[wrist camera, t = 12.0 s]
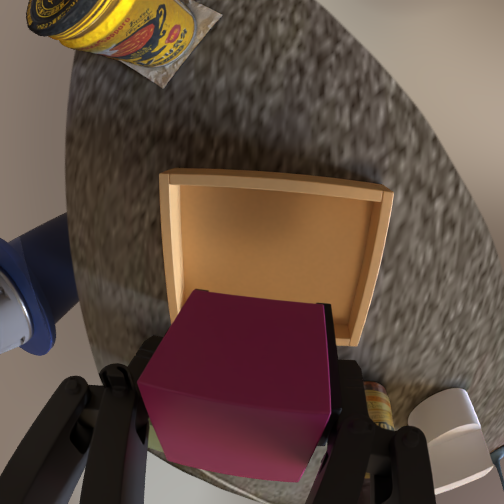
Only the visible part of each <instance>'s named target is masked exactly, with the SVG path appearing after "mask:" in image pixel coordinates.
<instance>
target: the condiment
mask: <svg viewBox="0 0 504 504" xmlns="http://www.w3.org/2000/svg"><path fill="white" fill-rule="evenodd" d="M221 16H222V15H221V14H220V13H218V12H216V11H214V10H212V9H210V8H208V7H206V6H204V5H202V4H200V3H197V2H195V1H193V0H29V3H28V7H27V13H26V19H27V24H28V28H29V29H30V30H31V31H33V32H34V33H35V34H38V35H39V36H49V37H50V38H52V39H55V40H59V41H60V43H61V44H62V45H64V46H66V47H68V48H71V49H74V50H75V49H76V50H80V51H86V52H91V53H95V54H98V55H102V56H105V57H108V58H113V59H117V60H119V61H121V62H122V63H124V64H126V65H127V66H129V67H131V68H132V69H134V70H135V71H137V72H139V73H140V74H142V75H143V76H145V77H146V78H148V79H149V80H151V81H153V82H154V83H156V84H157V85H159V86H160V87H161V88H163V89H164V87H165V86H166V85H167V83H168V82H169V80H170V79H171V78H172V76H173V75H174V74H175V72H176V71H177V70H178V69H179V67H180V66H181V65H182V64H183V62H184V61H185V60H186V58H187V57H188V56H189V55H190V53H191V52H192V51H193V50H194V48H195V47H196V46H197V45H198V43H199V42H200V41H201V40H202V39H203V37H204V36H205V35H206V34H207V33H208V31H209V29H210V28H211V27H212V26H213V25H214V24H215V23H216V22H217V21H218V20H219V19H220V17H221Z"/></svg>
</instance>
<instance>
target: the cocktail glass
mask: <svg viewBox="0 0 504 504" xmlns="http://www.w3.org/2000/svg"><path fill="white" fill-rule="evenodd" d="M490 456H491V460H492V463H493V464H494V465H495V466H496V468H497V470H498V473H499V476H500V479H501V482H502V486H503V490H504V480H503V476H502V472H501V467H500V459H501V458H502V457H504V446H502V447H501V448H499V449H497V450H495V451H494V452H492V453H491V454H490Z"/></svg>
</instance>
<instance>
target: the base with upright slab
mask: <svg viewBox="0 0 504 504" xmlns="http://www.w3.org/2000/svg"><path fill="white" fill-rule="evenodd" d="M408 426H415V427H417V428H419V429H420V430H421V431H422V432H423V433H424V435H425V437H426V441H427V446H428V452H429V457H430V463H431V469H432V476H433V483H434V491H435V495H436V494H439V493H442V492H445V491H448V490H451V489H453V488H456V487H458V486H461V485H464V484H466V483H469V482H471V481H473V480H476V479H478V478H480V477H483V476H485V475H486V474H487V473H488V472H489V471H490V470H491V469H492V467H493V463H492V460H491V456H490V453H489V450H488V447H487V444H486V441H485V439H484V436H483V433H482V430H481V426H480V423H479V420H478V418H477V415H476V413H475V410H474V408H473V406H472V403H471V401H470V399H469V396H468V394H467V392H466V391H465V390H464V389H461V388H451V389H447V390H444V391H441V392H438V393H436V394H434V395H432V396H430V397H428V398H427V399H426V400H424V401H423V402H421V403H420V404H419V405H418V406H417V407H415V408H414V410H413V411H412V412H411V413H410V415H409V417H408Z"/></svg>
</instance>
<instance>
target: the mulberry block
mask: <svg viewBox="0 0 504 504" xmlns="http://www.w3.org/2000/svg"><path fill="white" fill-rule="evenodd" d="M137 384H138V387H139V390H140V393H141V396H142V399H143V401H144V404H145V407H146V410H147V412H148V415H149V417H150V420H151V423H152V425H153V428H154V430H155V433H156V435H157V437H158V440H159V442H160V444H161V447H162V449H163V451H164V454H165V456H166V458H167V460H168V461H171V462H175V463H179V464H182V465H186V466H190V467H194V468H199V469H203V470H208V471H212V472H217V473H223V474H228V475H234V476H240V477H247V478H254V479H262V480H272V481H283V482H299V480H300V478H301V477H302V475H303V473H304V471H305V469H306V467H307V465H308V463H309V461H310V459H311V457H312V455H313V453H314V451H315V448H316V446H317V444H318V442H319V440H320V438H321V435H322V433H323V431H324V429H325V427H326V424H327V422H328V420H329V417H330V415H331V395H330V377H329V361H328V348H327V336H326V325H325V314H324V305H323V304H314V303H303V302H293V301H283V300H274V299H265V298H256V297H247V296H239V295H231V294H223V293H215V292H207V291H200V290H193V291H192V293H191V294H190V296H189V297H188V299H187V301H186V302H185V304H184V305H183V307H182V309H181V310H180V312H179V313H178V315H177V317H176V318H175V320H174V321H173V323H172V325H171V326H170V328H169V330H168V331H167V333H166V334H165V336H164V338H163V339H162V341H161V343H160V344H159V346H158V348H157V349H156V351H155V352H154V354H153V356H152V357H151V359H150V361H149V362H148V364H147V366H146V367H145V369H144V371H143V372H142V374H141V376H140V377H139V379H138V381H137Z"/></svg>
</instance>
